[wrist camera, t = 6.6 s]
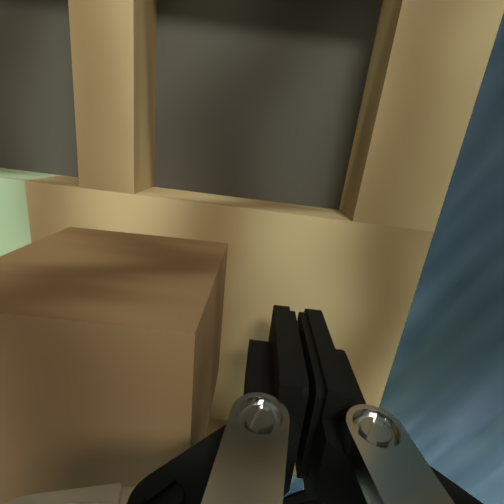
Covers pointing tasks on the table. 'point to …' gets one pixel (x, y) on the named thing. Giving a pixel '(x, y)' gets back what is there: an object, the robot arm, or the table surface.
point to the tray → (249, 147)
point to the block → (105, 356)
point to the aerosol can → (302, 499)
